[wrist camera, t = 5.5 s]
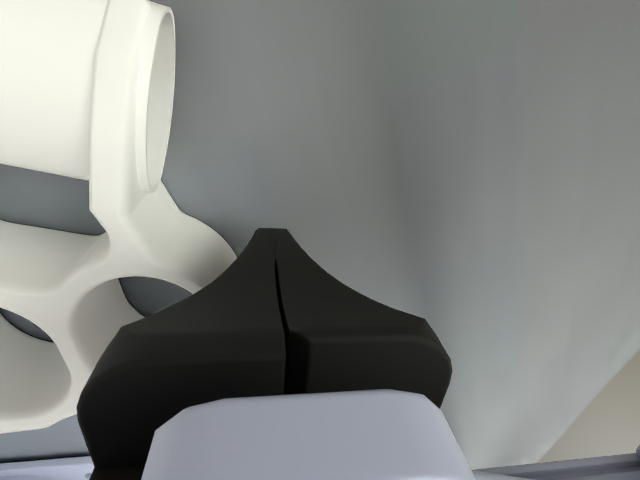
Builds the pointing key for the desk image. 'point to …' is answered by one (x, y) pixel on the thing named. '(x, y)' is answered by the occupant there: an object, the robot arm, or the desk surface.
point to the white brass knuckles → (104, 190)
